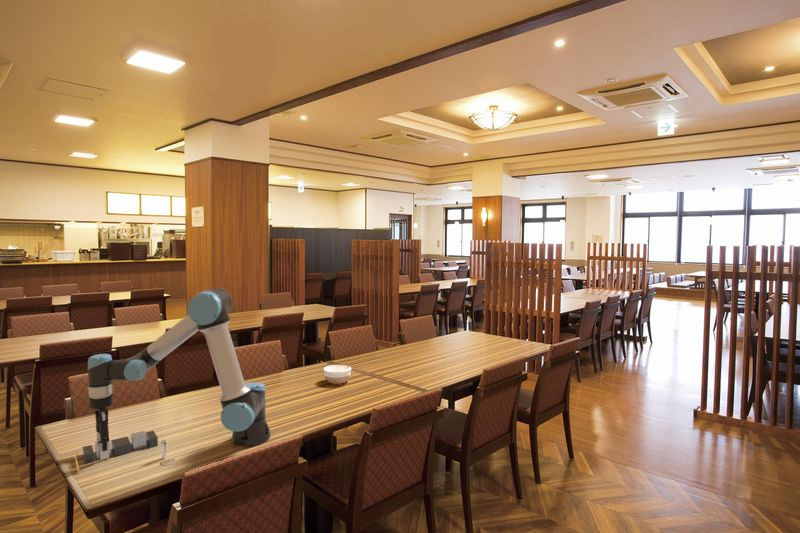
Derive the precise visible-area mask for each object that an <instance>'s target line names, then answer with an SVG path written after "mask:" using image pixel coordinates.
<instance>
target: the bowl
mask: <svg viewBox="0 0 800 533" xmlns="http://www.w3.org/2000/svg"><path fill="white" fill-rule="evenodd" d="M323 371H324V373H323V374H324V379H325V380H326V381H327V382H330V383H333V384H332V385H334V384H339V385H342V384H341V383H344V384H346V383H347V382H348V380H350V378H351V374H352V373H351V372H352V367H351V366H349V365H348V364H347V365H345V364H330V365H327V366H325V367H324V368H323ZM346 381H347V382H346ZM345 382H346V383H345ZM330 383H329V384H330Z"/></svg>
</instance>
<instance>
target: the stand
mask: <svg viewBox="0 0 800 533" xmlns="http://www.w3.org/2000/svg"><path fill="white" fill-rule="evenodd" d="M161 459H162V460H165V459H167V441H166V439H161ZM175 462H176V458H174V459H173V458H172V459H170V460H169V459H168V460H166V461H162V462H160V463H159V464H160V465H162V466H169V465H173V464H174V463H175Z"/></svg>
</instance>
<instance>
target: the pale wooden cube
mask: <svg viewBox="0 0 800 533" xmlns="http://www.w3.org/2000/svg"><path fill="white" fill-rule="evenodd" d="M98 442H100V441H97V440H96V441H94V453H95V455H96V458H97V459H99V458H100V443H99V444H98ZM111 449H112V445H111V440H109V456H111Z"/></svg>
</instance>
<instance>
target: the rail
mask: <svg viewBox="0 0 800 533" xmlns="http://www.w3.org/2000/svg"><path fill="white" fill-rule="evenodd" d="M145 434H146V447H144V448H140V449H136V450H133V448H132V446H131V440H130V439H129V437H128V436H123V437H119V438H116V439H112V440H110V446H111V456H109V458H106V459H105V460H107V459H110V458H115V457H118V456H122V455H127V454H131V453H134V452H138V451H143V450H146V449H150V448H151V449H152V448H155V447H158V444H159V441H158V439H159V438H158V437H159V436H157V434H156V432H155V431H154V430H150V431H145ZM82 457H83V461H84V465H87V464H92V463H95V462H98V461H103V460H104V459H102V460H100V458H99V459H97V458H96V455H95V451H94V449H93V446H92V444H90V445H85V446H82Z"/></svg>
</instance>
